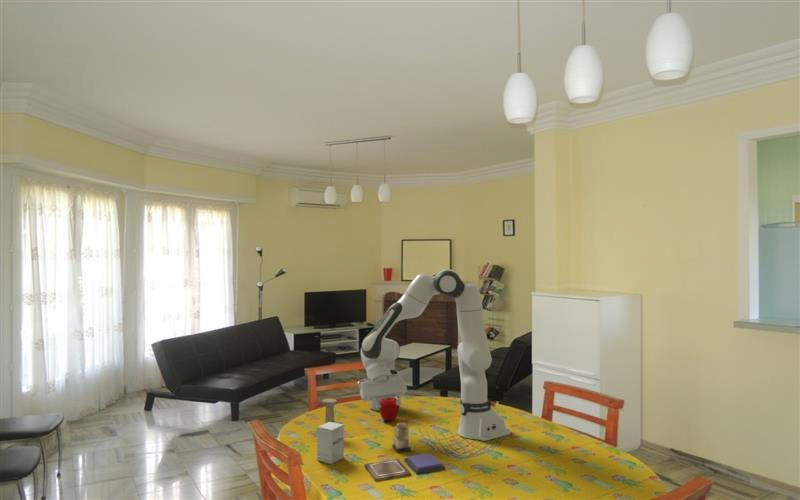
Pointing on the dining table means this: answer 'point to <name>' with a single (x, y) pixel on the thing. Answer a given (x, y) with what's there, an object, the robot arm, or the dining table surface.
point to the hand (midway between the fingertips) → (389, 406)
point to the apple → (389, 408)
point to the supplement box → (330, 442)
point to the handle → (329, 409)
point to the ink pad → (424, 463)
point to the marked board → (387, 469)
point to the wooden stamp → (401, 438)
